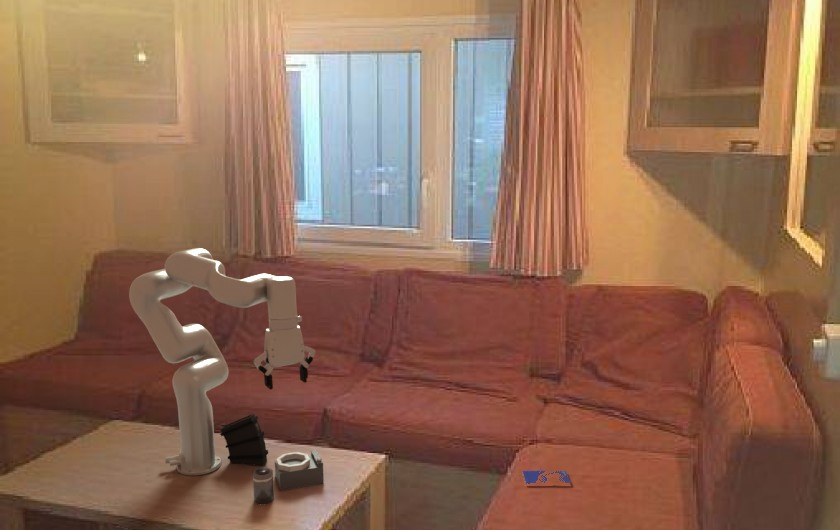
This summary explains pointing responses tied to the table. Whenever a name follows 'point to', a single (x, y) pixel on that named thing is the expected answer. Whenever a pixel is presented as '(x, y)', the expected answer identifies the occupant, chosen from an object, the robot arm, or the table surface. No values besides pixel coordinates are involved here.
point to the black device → (245, 441)
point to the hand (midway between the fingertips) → (286, 384)
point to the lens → (263, 486)
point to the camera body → (298, 470)
